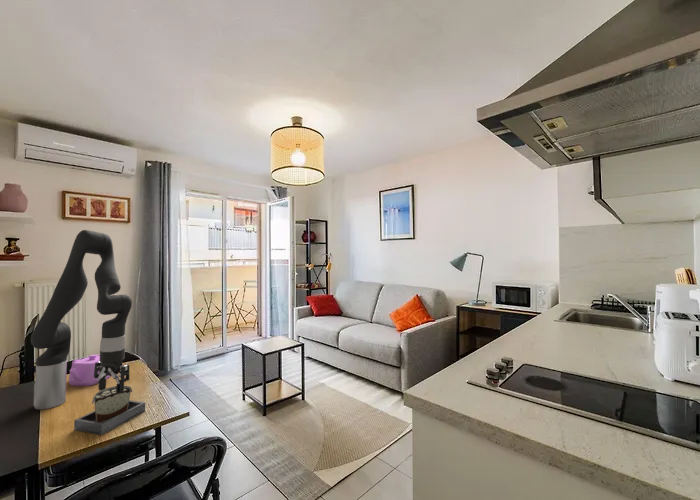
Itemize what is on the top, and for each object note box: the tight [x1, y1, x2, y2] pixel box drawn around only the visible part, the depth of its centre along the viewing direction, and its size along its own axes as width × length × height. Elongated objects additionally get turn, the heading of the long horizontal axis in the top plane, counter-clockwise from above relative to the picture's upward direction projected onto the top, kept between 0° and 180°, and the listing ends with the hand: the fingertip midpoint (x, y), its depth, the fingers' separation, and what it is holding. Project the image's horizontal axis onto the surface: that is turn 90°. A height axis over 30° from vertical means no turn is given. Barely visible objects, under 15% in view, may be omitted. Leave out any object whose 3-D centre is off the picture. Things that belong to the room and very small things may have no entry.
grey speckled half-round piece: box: [91, 385, 133, 423], centre depth 117 cm, size 12×6×10 cm, turn 144°
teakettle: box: [68, 354, 112, 387], centre depth 152 cm, size 17×17×12 cm
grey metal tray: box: [73, 399, 146, 436], centre depth 116 cm, size 12×17×4 cm
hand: (110, 391), depth 116 cm, fingers open, 8 cm apart
